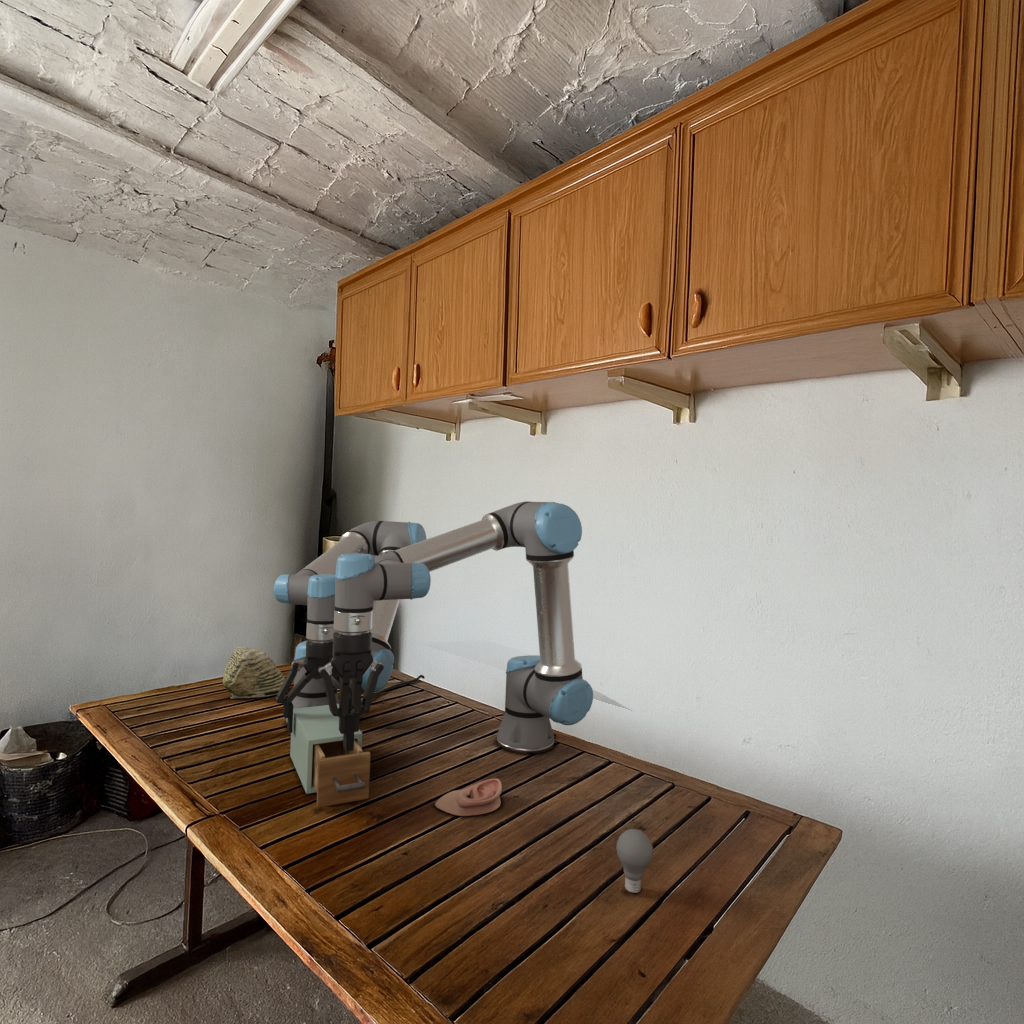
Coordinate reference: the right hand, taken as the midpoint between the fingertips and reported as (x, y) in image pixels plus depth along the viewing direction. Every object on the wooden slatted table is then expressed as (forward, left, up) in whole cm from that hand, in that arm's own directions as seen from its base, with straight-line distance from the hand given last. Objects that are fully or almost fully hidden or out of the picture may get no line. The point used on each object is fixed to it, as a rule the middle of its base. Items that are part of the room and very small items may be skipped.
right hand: (348, 748), depth 127 cm
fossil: (+14, -84, -13) cm, 86 cm away
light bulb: (-40, +42, -13) cm, 59 cm away
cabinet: (+1, -22, -13) cm, 26 cm away
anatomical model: (-25, +5, -13) cm, 28 cm away
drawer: (+1, -10, -12) cm, 16 cm away
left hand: (+2, -29, -6) cm, 29 cm away
